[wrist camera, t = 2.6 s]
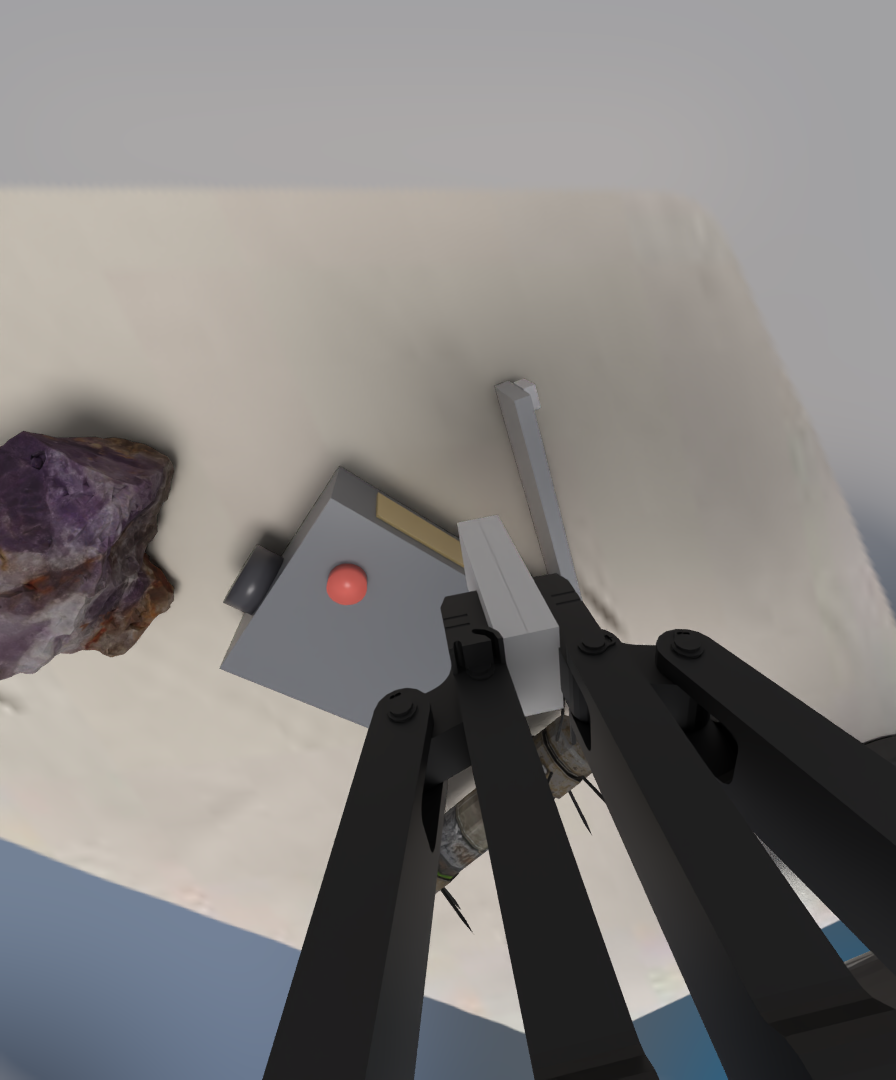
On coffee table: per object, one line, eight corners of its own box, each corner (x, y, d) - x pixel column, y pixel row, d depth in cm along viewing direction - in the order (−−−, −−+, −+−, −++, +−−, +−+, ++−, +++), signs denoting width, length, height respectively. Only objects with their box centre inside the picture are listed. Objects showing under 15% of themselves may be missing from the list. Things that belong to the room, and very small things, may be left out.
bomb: (634, 816, 25) (299, 1056, 33) (675, 792, 34) (399, 989, 41) (519, 651, 32) (262, 883, 40) (577, 664, 40) (354, 854, 48)
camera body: (557, 596, 33) (589, 650, 28) (454, 710, 37) (465, 776, 31) (315, 448, 27) (299, 483, 21) (218, 604, 30) (185, 667, 25)
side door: (573, 589, 33) (600, 630, 29) (552, 596, 33) (576, 638, 29) (518, 374, 26) (543, 388, 22) (491, 384, 26) (512, 400, 22)
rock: (218, 460, 28) (11, 390, 24) (168, 494, 20) (-147, 396, 16) (167, 634, 30) (-26, 591, 27) (104, 726, 22) (-178, 679, 19)
